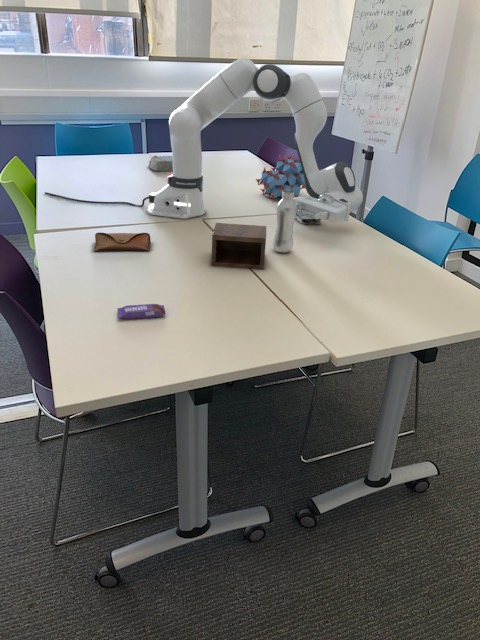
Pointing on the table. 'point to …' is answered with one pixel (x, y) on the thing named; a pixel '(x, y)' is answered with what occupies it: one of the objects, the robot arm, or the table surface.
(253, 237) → the dark wooden box
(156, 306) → the snack package
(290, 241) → the plastic bottle
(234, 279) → the table surface
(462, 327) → the table surface
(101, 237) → the sunglasses case
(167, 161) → the geological specimen
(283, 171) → the molecule model
